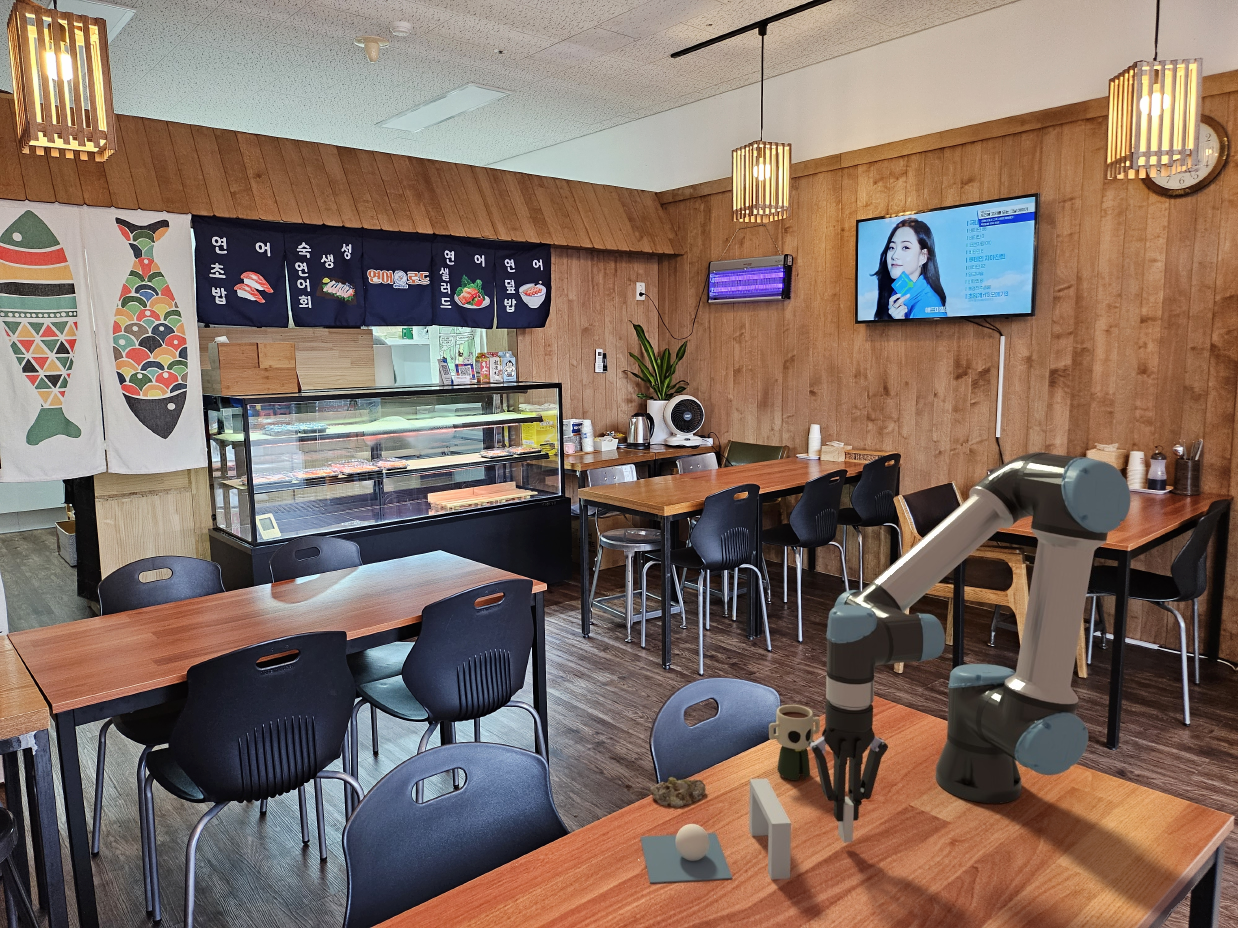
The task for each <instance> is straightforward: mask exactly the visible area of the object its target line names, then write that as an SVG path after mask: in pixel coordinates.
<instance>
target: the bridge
mask: <svg viewBox="0 0 1238 928" xmlns="http://www.w3.org/2000/svg"><path fill="white" fill-rule="evenodd" d="M748 802H749V803H748V804H749V806H748V809H749V811H748V812H749V814H748V831H749V833H750V836H751V837H758V836H768V844H767V873H768V876H769V878H770V880H788V879H791V851H792V850H791V849H792V848H791V847H792V845H791V844H792V822H791V820H790V818H789V816H788V815H787V813H786V811H785V809H784V807H783V805H782V803H781V801H780V799H779V798H778V796H777V794H776V792H775V790H774V789H773V787H772V784H770V781H769V780H768V778H750V779H749V801H748Z"/></svg>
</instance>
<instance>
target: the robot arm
mask: <svg viewBox="0 0 1238 928" xmlns="http://www.w3.org/2000/svg"><path fill="white" fill-rule="evenodd" d="M968 493H969V494H968V495H969V497H968V499H966V500H965V501H964V502H963V503H961V505H960V506H958V507H957V508H956V509H955V510H954V511H952V512H951V513H950V514H949V515H948V516H946V518H944V519H943V520H942V521H941V522H940V523H939V524H938V525H936V526H935V527H934V528H933V529H932V530H931V531H929V532H928V533H927V534H926V535H925V536H924V537H922V538H921V539H920V540H919V541H918V542H917V543H915V545H913V546H912V547H911V548H910V549H909V550H908V551H906V553H904V554H902V556H900V558H898V559H897V560H896V561H895V562H894V563H893V564H891V565H890V566H889V567H888V568H886V570H884V572H882V573H881V574H880V575H879V576H877V577H876V578H875V579H874V580H873V581H872V582H871V583H869V584H868V585H867V586H865V587H864V588H863V589H862V590H858V589H857V590H856V589H852V590H848V591H844V592H843V593H842V594H840V595H839V596H838V597H837V599H836V601H835V604H834V607H833V608H831V610H830V611H829V613H828V620H827V628H826V630H827V631H826V635H825V636H826V679H825V680H826V683H825V697H826V700H825V710H824V711H825V712H824V714H825V715H824V716H825V717H824V719H825V720H824V723H825V725H824V729H823V730H822V733H821V737H819V738H818V739H817V740H814V739H813V740H811V741H809V743H808V745H809V747H808V748H810V750H811V751H812V752H813V754H814V760H815V764H816V768H817V772H818V776H819V777H818V778H819V781H820V782H819V783H820V785H821V787H820V788H821V790H822V793H823V794H824V796H825V798H826V799H827V801H828V802H833V816H834V818H835V821H836V822H838V826H837V827H838V828H837V829H838V831H837V833H838V834H837V835H838V836H839V837H840V839H841V841H842V843H845V844H847V843H850V844H851V843H853V841H854V840H853V839H854V834H853V833H854V821H859V817H860V815H859V813H860V807H861V806H862V804H863V802H862V801H863V800H871V797H872V794H873V791H874V788H875V783H876V780H877V776H878V772H879V769H880V765H881V761H882V759H883V757H884V755H885V754H886V752H887V750H888V748H889V746H888V743H886V742H885V740H884V739H883V738H881V737H877V736H876V734H875V732H874V730H873V724H874V706H873V703H874V700H875V699H874V698H875V694H874V692H875V672H876V671H875V669H876V666H878V665H880V666H881V665H889V664H890V665H891V664H900V663H901V664H902V663H913V662H917V663H922V662H923V661H928V660H934V659H937V658H939V657H940V656H941V655H942V653H943V652H944V649H945V645H946V644H945V643H946V642H945V641H946V634H945V630H944V627H943V626H942V623H941V621H940V620H939V619H938V618H937V617H936V616H935V615H932V614H930V613H920V612H916V613H914V614H908V613H906V612H907V610H908V609H909V608H910V607H911V606H913V605H914V604H915V603H917V602H918V601H919V599H921V598H922V597H923V596H924V595H926V593H928V592H929V591H930V590H931V589H933V587H935V586H936V585H937V584H938V583H939V582H940V581H942V580H943V579H944V578H945V577H946V576H947V575H949V573H951V572H952V571H953V570H954V569H955V568H956V567H958V565H960V564H961V563H962V562H963V561H964V560H965V559H967V558H968V557H969V556H970V555H971V554H973V553H974V552H975V551H976V550H977V549H979V548H980V547H981V546H982V545H983V544H984V543H985V542H986V541H987V540H988V539H990V538H991V537H992V536H993V535H994V534H996V533H997V532H998V531H999V530H1000V529H1010V528H1011V527H1013V526H1014V525H1015V524H1016V523H1017V522H1019V521H1021V520H1022V519H1025V518H1029V517H1032V518H1031V526H1030V531H1031V532H1032V534H1033V535H1034V536H1035V537H1036V539H1037V540H1038V541H1037V548H1036V553H1035V558H1034V559H1035V560H1034V565H1033V570H1032V577H1031V582H1030V588H1029V593H1028V600H1027V607H1026V612H1025V618H1024V623H1023V629H1022V635H1021V642H1020V648H1019V653H1018V659H1017V665H1016V671H1015V670H1014V669H1011V668H1008V667H1005V666H1002V665H996V664H995V665H994V664H987V663H985V664H984V663H973V664H972V663H971V664H970V663H969V664H963V665H958V666H956V667H955V668H953V669H952V671H951V672H950V674H949V681H948V686H947V688H948V696H947V697H948V698H947V699H948V703H947V727H946V728H947V729H946V731H947V732H946V741H945V744H944V746H943V748H942V751H941V753H940V756H939V759H938V760H937V762H936V766H935V781H936V783H937V784H938V786H940V787H941V788H942V789H943V790H945V791H946V792H948V793H949V794H952V795H954V796H955V797H959V798H961V799H964V800H967V801H972V802H974V803H975V802H976V803H981V804H992V805H993V804H995V805H996V804H1006V803H1010V802H1013V801H1015V800H1017V799H1018V798H1019V797H1020V796H1021V794H1022V777H1021V774H1020V771H1019V767H1018V764H1019V765H1021V766H1022V767H1024V768H1027V769H1029V770H1031V771H1033V772H1035V773H1037V774H1040V775H1043V776H1055V775H1061V774H1062V773H1065V772H1067V771H1068V770H1070V769H1071V768H1072V766H1074V765H1076V764H1077V763H1078V762H1079V761H1080V760H1081V759H1082V757H1083V756H1084V754H1085V752H1086V749H1087V747H1088V743H1089V730H1088V728H1087V726H1086V725H1085V722H1084V721H1083V720H1082V719H1081V718H1080V717H1079V716H1078V715H1077V712H1078V711H1077V710H1078V705H1079V704H1078V703H1079V697H1078V695H1077V694H1076V692H1075V691H1074V690H1073V689H1072V686H1071V684H1072V679H1073V675H1074V673H1073V672H1074V667H1075V663H1076V657H1077V650H1078V646H1079V645H1078V644H1079V639H1080V634H1081V630H1082V629H1081V628H1082V623H1083V618H1084V617H1083V616H1084V610H1085V606H1086V598H1087V595H1088V589H1089V588H1088V587H1089V583H1090V582H1089V581H1090V577H1091V570H1092V565H1093V560H1094V559H1093V558H1094V554H1095V551H1096V550H1097V548H1099V547H1101V546H1102V545H1103V546H1104V544H1105V543H1107V541H1108V533H1109V532H1112V531H1114V530H1116V529H1118V528H1119V527H1120V526H1121V525H1122V524H1121V522H1125V520H1126V518H1127V517H1128V514H1129V512H1130V508H1131V507H1130V506H1131V501H1132V500H1131V490H1130V487H1129V485H1128V481H1127V479H1126V478H1125V477H1124V476H1123V475H1122V472H1121V471H1120V470H1119V469H1118V468H1117V467H1115V466H1114V465H1113V464H1111V463H1109V462H1106V461H1102V460H1098V459H1094V458H1092V457H1087V456H1086V457H1083V456H1082V457H1080V456H1074V455H1073V456H1071V455H1063V454H1055V453H1050V452H1042V451H1041V452H1040V451H1038V452H1036V451H1035V452H1031V453H1030V452H1029V453H1026V454H1023V455H1019V456H1017V457H1015V458H1014V459H1011V460H1009V461H1007V462H1005V463H1004V464H1001V465H1000V466H999V467H997V468H996V469H994V470H992V471H991V472H990V473H989V474H987V475H986V476H984V477H983V478H982V479H981V480H979V481H978V482H977V483H976V484H975V485H974V486H973V487H972V488H970V490H969V492H968ZM826 746H828V748H829V749H830V751H832V753H833V754H832V756H833V776H832V777H833V779H832V780H831V775H830V771H829V767H828V761H827V758H826V756H825V755H824V754H826V751H827V749H826ZM869 747H870V748H869ZM868 748H869V750H868ZM867 750H868V753H867V757H866V761H865V765H864V767H863V770H862V765H863V763H864V760H863V759H864V758H863V757H864V754H865V752H866V751H867ZM847 765H848V777H847V776H846V775H847ZM846 777H847V778H848V786H846V782H847V780H846V779H847V778H846ZM832 784H833V785H832ZM846 787H848V788H847V789H848V790H847V795H848V796H846Z"/></svg>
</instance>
